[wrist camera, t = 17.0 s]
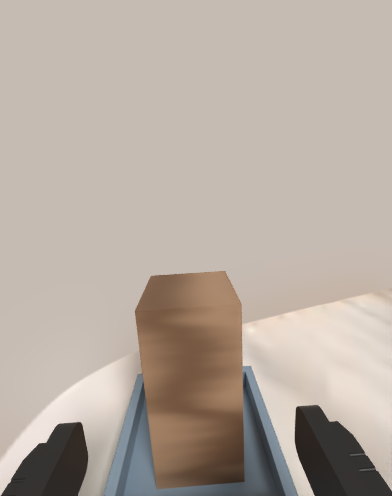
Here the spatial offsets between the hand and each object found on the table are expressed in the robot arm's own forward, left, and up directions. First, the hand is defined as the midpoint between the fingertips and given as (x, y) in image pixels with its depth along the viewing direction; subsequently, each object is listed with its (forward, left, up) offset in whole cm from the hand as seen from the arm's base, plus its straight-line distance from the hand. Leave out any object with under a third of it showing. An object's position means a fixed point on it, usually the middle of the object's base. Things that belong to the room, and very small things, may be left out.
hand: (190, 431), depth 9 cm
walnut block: (0, -6, -7) cm, 9 cm away
